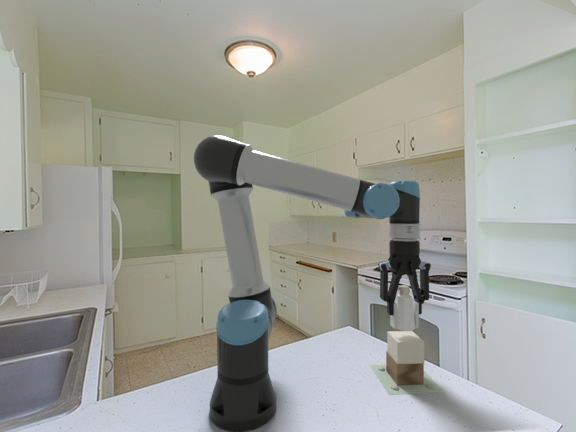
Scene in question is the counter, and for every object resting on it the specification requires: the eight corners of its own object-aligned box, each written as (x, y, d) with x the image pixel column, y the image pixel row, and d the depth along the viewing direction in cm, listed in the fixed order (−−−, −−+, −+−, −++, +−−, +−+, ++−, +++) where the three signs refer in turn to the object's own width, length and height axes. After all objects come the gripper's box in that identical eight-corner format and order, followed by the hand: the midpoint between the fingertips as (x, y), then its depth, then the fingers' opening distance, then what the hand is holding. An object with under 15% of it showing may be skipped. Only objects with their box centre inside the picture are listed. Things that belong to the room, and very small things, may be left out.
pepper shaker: (403, 332, 76) (403, 289, 76) (389, 325, 81) (388, 284, 81) (420, 329, 78) (419, 287, 78) (404, 322, 83) (404, 282, 83)
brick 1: (397, 363, 76) (397, 342, 76) (387, 351, 83) (387, 331, 83) (424, 363, 76) (424, 341, 76) (412, 350, 83) (412, 331, 83)
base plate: (389, 398, 72) (389, 393, 72) (369, 368, 86) (369, 363, 86) (444, 396, 73) (444, 390, 73) (416, 366, 87) (416, 362, 87)
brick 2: (397, 385, 76) (397, 364, 76) (386, 370, 83) (386, 351, 83) (423, 384, 76) (423, 363, 76) (410, 370, 83) (410, 350, 83)
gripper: (376, 241, 75) (376, 333, 75) (445, 240, 76) (445, 331, 76) (366, 238, 82) (366, 322, 82) (429, 237, 83) (429, 320, 84)
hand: (404, 326), depth 79 cm, fingers closed on pepper shaker, 5 cm apart
